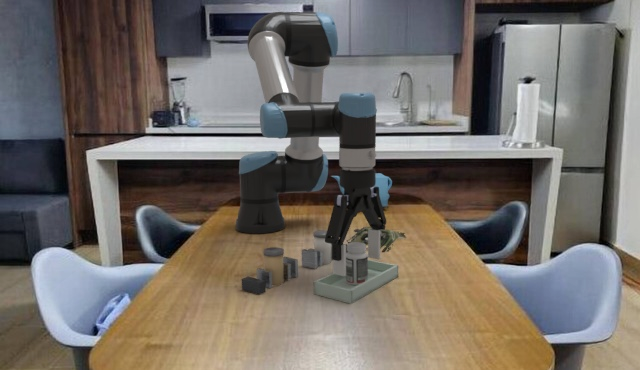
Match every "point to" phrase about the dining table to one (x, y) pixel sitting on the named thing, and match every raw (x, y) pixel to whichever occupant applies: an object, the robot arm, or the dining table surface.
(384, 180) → the teapot
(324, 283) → the tray
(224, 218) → the dining table surface
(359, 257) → the pill bottle
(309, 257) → the clip row
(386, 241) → the circuit board
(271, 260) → the cylinder
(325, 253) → the grey lidded jar
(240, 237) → the dining table surface
